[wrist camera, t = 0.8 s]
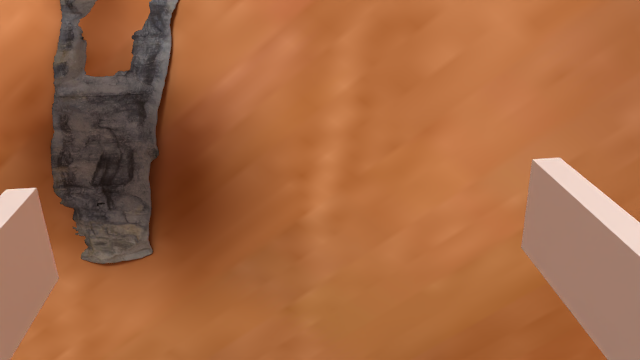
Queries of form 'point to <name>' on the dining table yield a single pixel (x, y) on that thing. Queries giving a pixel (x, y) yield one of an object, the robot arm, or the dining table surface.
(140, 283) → the dining table surface
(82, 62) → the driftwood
